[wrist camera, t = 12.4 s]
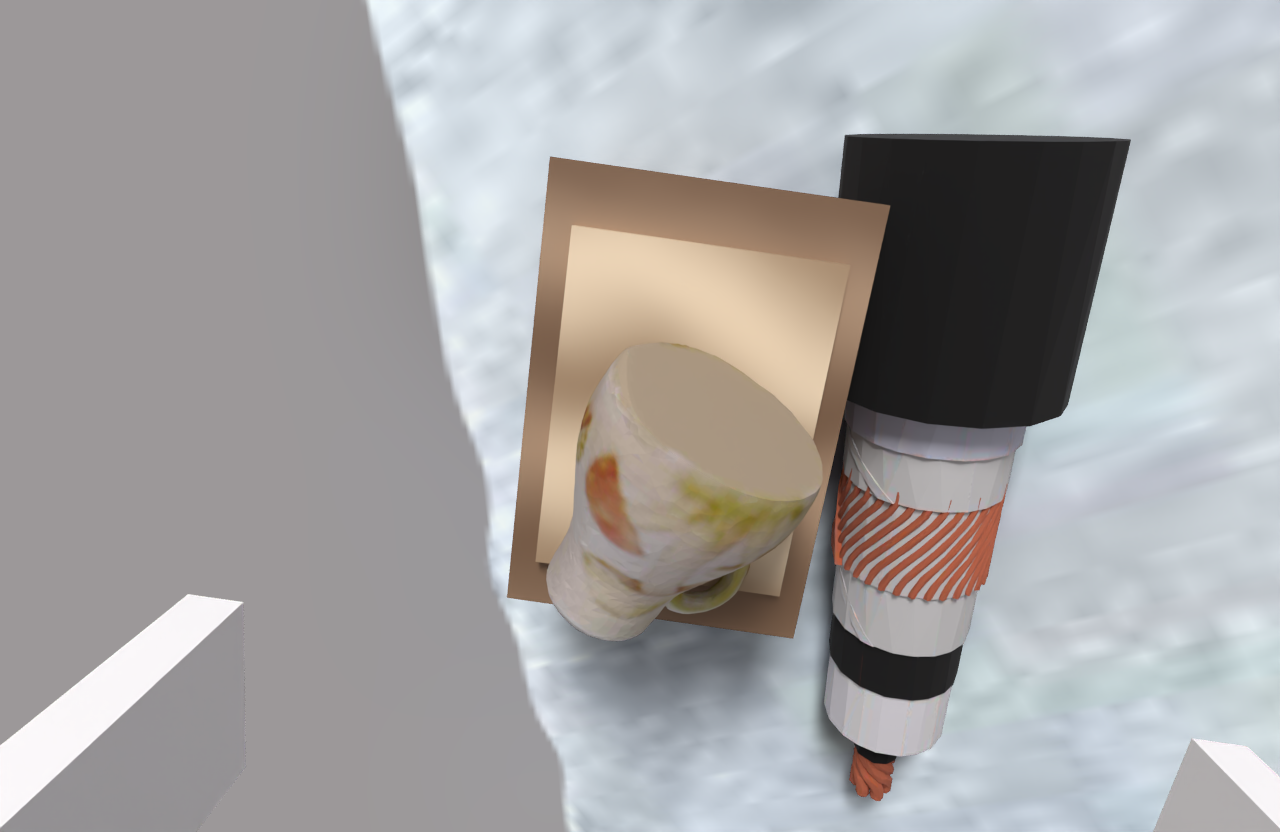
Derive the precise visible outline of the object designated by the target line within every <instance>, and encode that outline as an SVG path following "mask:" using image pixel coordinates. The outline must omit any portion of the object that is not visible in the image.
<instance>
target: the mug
mask: <svg viewBox="0 0 1280 832" xmlns="http://www.w3.org/2000/svg"><path fill="white" fill-rule="evenodd" d="M822 480H823V476H822V462H821V458H820V455H819V453H818V450H817V448H816V445H815V443H814V441H813V439H812V437H811V436H810V435H809V434H808V432H807V431H806V430H805V429H804V427H803V426H802V425H801V424H800V423H799V421H798V420H797V419H796V417H795V416H794V415H793V413H792V412H791V411H790V410H789V409H788V408H787V407H786V406H784V405H783V404H782V403H781V402H780V401H779V400H778V399H777V398H776V397H775V396H774V395H773V394H772V393H770V392H769V391H767V390H766V389H765V388H763V387H762V386H760V385H759V384H757V383H756V382H755V381H753V380H752V379H751V378H750V377H748V376H747V375H746V374H744V373H743V372H741V371H740V370H738V369H737V368H735V367H734V366H732V365H730V364H729V363H727V362H725V361H724V360H722V359H720V358H719V357H717V356H715V355H711V354H709V353H706V352H704V351H701V350H699V349H696V348H692V347H689V346H687V345H681V344H673V343H665V342H658V343H647V344H641V345H636V346H632V347H629V348H627V349H625V350H624V351H623V352H622V353H621V354H620V355H619V356H618V357H617V358H616V359H615V361H614V362H613V363H612V364H611V366H610V367H609V369H608V370H607V372H606V373H605V375H604V376H603V378H602V379H601V380H600V382H599V383H598V385H597V387H596V388H595V390H594V392H593V394H592V395H591V397H590V400H589V402H588V405H587V407H586V410H585V413H584V416H583V419H582V423H581V428H580V432H579V436H578V442H577V450H576V466H575V486H574V506H573V516H572V520H571V523H570V526H569V529H568V531H567V533H566V535H565V537H564V539H563V541H562V543H561V544H560V546H559V547H558V549H557V551H556V552H555V554H554V556H553V558H552V560H551V561H550V563H549V566H548V569H547V575H546V581H547V587H548V592H549V596H550V598H551V600H552V602H553V604H554V606H555V607H556V609H557V610H558V612H559V613H560V614H561V615H562V616H563V617H564V618H565V619H566V620H567V621H568V622H569V623H570V624H571V625H572V626H573V627H574V628H576V629H577V630H578V631H580V632H582V633H584V634H586V635H588V636H591V637H595V638H598V639H602V640H607V641H624V640H627V639H631V638H633V637H636V636H638V635H639V634H641V633H642V632H644V631H645V629H646V628H647V627H648V626H649V625H650V624H651V622H652V621H653V620H654V619H655V618H656V617H657V616H658V615H659V613H660V612H661V611H662V609H663V608H664V607H665V606H666V607H667V609H669V610H671V611H673V612H677V613H681V614H693V613H700V612H706V611H709V610H711V609H714V608H717V607H719V606H721V605H722V604H724V603H725V602H727V601H728V600H730V599H731V598H732V597H733V596H734V595H735V594H736V593H737V591H738V590H739V588H740V586H741V585H742V583H743V581H744V579H745V577H746V575H747V574H748V571H749V568H750V564H751V563H752V562H754V561H756V560H758V559H760V558H761V557H763V556H764V555H766V554H767V553H769V552H770V551H772V550H773V549H775V548H776V547H777V546H778V545H779V544H781V543H782V542H783V541H784V540H785V539H786V538H787V537H788V536H789V535H790V534H791V533H792V532H793V531H794V530H795V528H796V527H797V526H798V525H799V524H800V522H801V521H802V520H803V518H804V517H805V515H806V514H807V512H808V510H809V509H810V507H811V506H812V504H813V502H814V501H815V499H816V497H817V495H818V493H819V491H820V488H821V484H822ZM721 576H722V577H721ZM719 577H721V578H720V580H719V581H718V582H717V583H716V584H715V585H714V586H713V587H711V588H709V589H708V590H705V591H699V592H690V591H687V590H690V589H692V588H695V587H697V586H699V585H702V584H704V583H706V582H709V581H711V580H714V579H716V578H719Z"/></svg>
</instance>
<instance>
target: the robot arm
mask: <svg viewBox="0 0 1280 832" xmlns="http://www.w3.org/2000/svg"><path fill="white" fill-rule="evenodd" d="M243 611H244V605H243V602H238V601H231V600H224V599H218V598H210V597H203V596H197V595H189V594H188V595H187V596H186V597H184V598H183V599H182V600H180V601H179V602H178V603H177V604H175V606H173V607H172V608H171V609H169V610H168V611H167V612H166V613H165V614H163V615H162V616H161V617H159V618H158V619H157V620H156V621H154V622H153V623H152V624H151V625H149V626H148V627H147V628H146V629H144V630H143V631H142V632H141V633H139V634H138V635H137V636H136V637H135V638H133V639H132V640H131V641H130V642H128V643H127V644H126V645H125V646H123V647H122V648H121V649H120V650H118V651H117V652H116V653H115V654H113V655H112V656H111V657H110V658H108V659H107V660H106V661H105V662H104V663H102V664H101V665H100V666H98V667H97V668H96V669H95V670H93V671H92V672H91V673H90V674H89V675H87V676H86V677H85V678H84V679H82V680H81V681H80V682H79V683H77V684H76V685H75V686H74V687H72V688H71V689H70V690H69V691H67V692H66V693H65V694H64V695H63V696H61V697H60V698H59V699H58V700H56V701H55V702H54V703H52V704H51V705H50V706H49V707H48V708H46V709H45V710H44V711H43V712H41V713H40V714H39V715H38V716H36V717H35V718H34V719H33V720H32V721H30V722H29V723H28V724H26V725H25V726H24V727H23V728H22V729H20V730H19V731H18V732H17V733H15V734H14V735H13V736H12V737H10V738H9V739H8V740H7V741H6V742H4V743H3V744H2V745H0V832H197V831H198V830H199V828H200V827H201V826H202V824H203V823H204V822H205V820H206V819H207V818H208V816H209V815H210V814H211V812H212V811H213V809H214V808H215V807H216V806H217V804H218V803H219V802H220V800H221V799H222V798H223V796H224V795H225V794H226V793H227V791H228V790H229V788H230V787H231V786H232V785H233V783H234V782H235V780H236V779H237V778H238V777H239V775H240V774H241V773H242V771H243V770H244V769H245V767H246V755H245V754H246V751H245V749H246V748H245V683H244V681H245V679H244V678H245V677H244V612H243ZM1153 832H1280V777H1279V776H1278V775H1277V774H1276V773H1275V772H1274V771H1273V770H1272V769H1271V768H1270V767H1269V766H1268V765H1266V764H1265V763H1264V762H1263V761H1262V760H1261V759H1260V758H1259V757H1258V756H1257V755H1256V754H1255V753H1254V752H1253V751H1252V750H1250V749H1249V748H1248V747H1247V746H1241V745H1234V744H1227V743H1220V742H1213V741H1206V740H1199V739H1191V741H1190V744H1189V746H1188V749H1187V751H1186V754H1185V756H1184V758H1183V761H1182V763H1181V766H1180V768H1179V770H1178V773H1177V775H1176V778H1175V780H1174V783H1173V785H1172V787H1171V790H1170V792H1169V795H1168V797H1167V799H1166V802H1165V804H1164V807H1163V809H1162V812H1161V814H1160V816H1159V819H1158V821H1157V824H1156V826H1155V828H1154V831H1153Z"/></svg>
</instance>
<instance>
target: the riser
mask: <svg viewBox="0 0 1280 832" xmlns="http://www.w3.org/2000/svg"><path fill="white" fill-rule="evenodd" d="M889 210H890V205H884V204H877V203H870V202H863V201H856V200H849V199H842V198H835V197H828V196H821V195H814V194H807V193H800V192H793V191H786V190H779V189H772V188H765V187H758V186H751V185H744V184H737V183H730V182H723V181H716V180H709V179H702V178H695V177H688V176H681V175H674V174H667V173H661V172H654V171H647V170H640V169H633V168H626V167H619V166H612V165H605V164H598V163H591V162H584V161H577V160H570V159H563V158H556V157H550V162H549V173H548V183H547V193H546V203H545V214H544V224H543V234H542V244H541V255H540V265H539V275H538V286H537V296H536V306H535V316H534V327H533V337H532V347H531V357H530V368H529V378H528V388H527V399H526V409H525V419H524V429H523V440H522V450H521V460H520V470H519V481H518V491H517V501H516V511H515V522H514V532H513V542H512V553H511V563H510V573H509V583H508V594H507V598H514V599H521V600H528V601H535V602H542V603H549V604H553V602H552V600H551V598H550V596H549V592H548V587H547V581H546V575H547V569H548V566H549V563H550V561H551V560H552V558H553V556H554V554H555V552H556V551H557V549H558V547H559V546H560V544H561V543H562V541H563V539H564V537H565V535H566V533H567V531H568V529H569V526H570V523H571V520H572V516H573V506H574V486H575V466H576V450H577V442H578V436H579V432H580V428H581V423H582V419H583V416H584V413H585V410H586V407H587V405H588V402H589V400H590V397H591V395H592V394H593V392H594V390H595V388H596V387H597V385H598V383H599V382H600V380H601V379H602V378H603V376H604V375H605V373H606V372H607V370H608V369H609V367H610V366H611V364H612V363H613V362H614V361H615V359H616V358H617V357H618V356H619V355H620V354H621V353H622V352H623V351H624V350H625V349H627V348H629V347H632V346H636V345H641V344H647V343H658V342H665V343H673V344H681V345H687V346H689V347H692V348H696V349H699V350H701V351H704V352H706V353H709V354H711V355H715V356H717V357H719V358H720V359H722V360H724V361H725V362H727V363H729V364H730V365H732V366H734V367H735V368H737V369H738V370H740V371H741V372H743V373H744V374H746V375H747V376H748V377H750V378H751V379H752V380H753V381H755V382H756V383H757V384H759V385H760V386H762V387H763V388H765V389H766V390H767V391H769V392H770V393H772V394H773V395H774V396H775V397H776V398H777V399H778V400H779V401H780V402H781V403H782V404H783V405H784V406H786V407H787V408H788V409H789V410H790V411H791V412H792V413H793V415H794V416H795V417H796V419H797V420H798V421H799V423H800V424H801V425H802V426H803V427H804V429H805V430H806V431H807V432H808V434H809V435H810V436H811V437H812V439H813V441H814V443H815V445H816V448H817V450H818V453H819V455H820V458H821V462H822V476H823V480H822V484H821V488H820V491H819V493H818V495H817V497H816V499H815V501H814V502H813V504H812V506H811V507H810V509H809V510H808V512H807V514H806V515H805V517H804V518H803V520H802V521H801V522H800V524H799V525H798V526H797V527H796V528H795V530H794V531H793V532H792V533H791V534H790V535H789V536H788V537H787V538H786V539H785V540H784V541H783V542H782V543H781V544H779V545H778V546H777V547H776V548H775V549H773V550H772V551H770V552H769V553H767V554H766V555H764V556H763V557H761V558H760V559H758V560H756V561H754V562H752V563H751V564H750V568H749V571H748V574H747V575H746V577H745V579H744V581H743V583H742V585H741V586H740V588H739V590H738V591H737V593H736V594H735V595H734V596H733V597H732V598H731V599H730V600H728V601H727V602H725V603H724V604H722V605H721V606H719V607H717V608H714V609H711V610H709V611H706V612H700V613H693V614H681V613H677V612H673V611H671V610H669V609H667V607H666V606H665V607H664V608H663V609H662V611H661V612H660V613H659V615H658V616H657V617H656V618H655V619H660V620H667V621H674V622H681V623H688V624H695V625H702V626H709V627H716V628H723V629H730V630H737V631H744V632H751V633H758V634H765V635H772V636H779V637H786V638H793V637H794V633H795V628H796V624H797V619H798V615H799V610H800V606H801V602H802V597H803V593H804V588H805V584H806V579H807V575H808V570H809V566H810V561H811V557H812V553H813V548H814V544H815V539H816V535H817V530H818V526H819V521H820V517H821V512H822V508H823V504H824V499H825V495H826V490H827V486H828V481H829V477H830V472H831V468H832V463H833V459H834V455H835V450H836V446H837V441H838V437H839V432H840V428H841V423H842V419H843V414H844V410H845V406H846V401H847V397H848V392H849V388H850V383H851V379H852V374H853V370H854V365H855V361H856V357H857V352H858V348H859V343H860V339H861V334H862V330H863V325H864V321H865V316H866V312H867V308H868V303H869V299H870V294H871V290H872V285H873V281H874V276H875V272H876V267H877V263H878V259H879V254H880V250H881V245H882V241H883V236H884V232H885V227H886V223H887V218H888V214H889ZM721 577H722V576H721ZM721 577H719V578H716V579H714V580H711V581H709V582H706V583H704V584H702V585H699V586H697V587H695V588H692V589H690V590H687V591H690V592H699V591H705V590H708V589H709V588H711V587H713V586H714V585H715V584H716V583H717V582H718V581H719V580H720V578H721Z"/></svg>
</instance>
